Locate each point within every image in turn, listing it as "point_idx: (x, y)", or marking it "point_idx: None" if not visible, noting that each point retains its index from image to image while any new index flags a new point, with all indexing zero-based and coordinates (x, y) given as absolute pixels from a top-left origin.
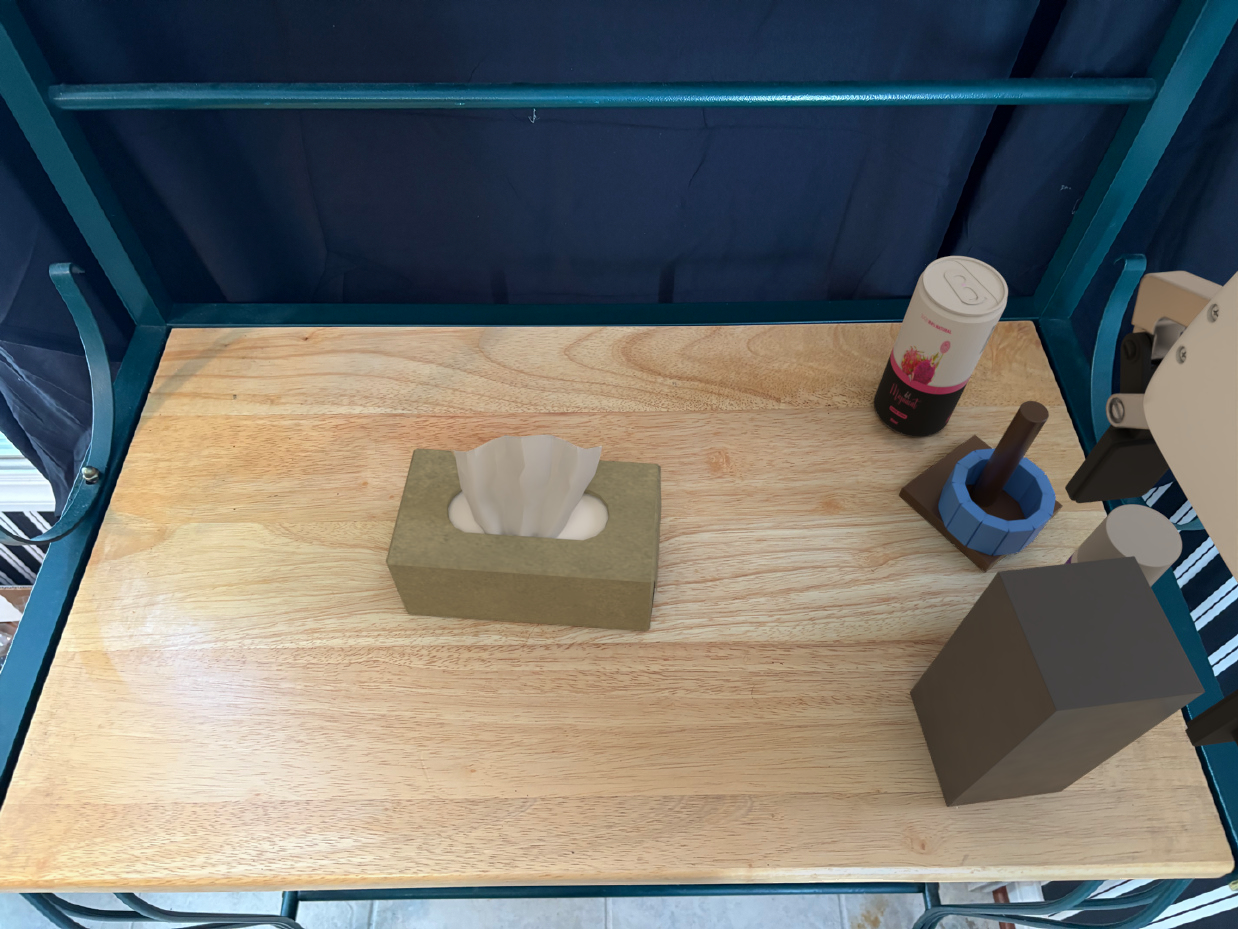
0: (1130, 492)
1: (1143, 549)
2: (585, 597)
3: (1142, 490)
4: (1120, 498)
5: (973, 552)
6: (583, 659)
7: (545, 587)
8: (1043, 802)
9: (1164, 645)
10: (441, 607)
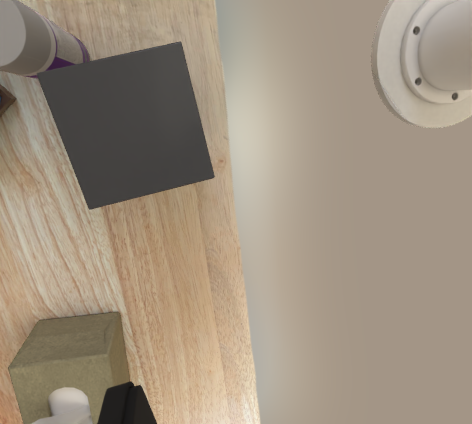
0: (147, 420)
1: (5, 32)
2: (118, 369)
3: (141, 407)
4: (151, 412)
5: (1, 109)
6: (144, 339)
7: None
8: None
9: (138, 69)
10: None
